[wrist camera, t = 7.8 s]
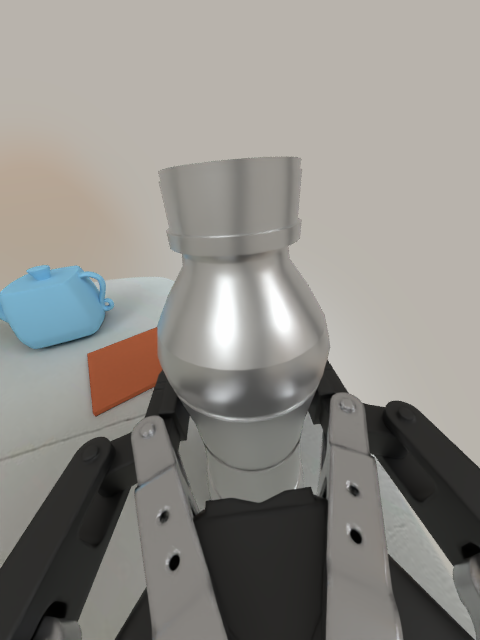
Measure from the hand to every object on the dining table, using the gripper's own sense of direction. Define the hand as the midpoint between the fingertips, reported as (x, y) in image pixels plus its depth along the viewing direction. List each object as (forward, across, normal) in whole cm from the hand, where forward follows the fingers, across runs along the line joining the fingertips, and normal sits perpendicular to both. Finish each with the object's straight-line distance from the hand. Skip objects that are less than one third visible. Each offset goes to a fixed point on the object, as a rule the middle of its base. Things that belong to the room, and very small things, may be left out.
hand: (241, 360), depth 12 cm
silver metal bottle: (-2, 0, +11) cm, 11 cm away
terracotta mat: (+14, +13, +11) cm, 22 cm away
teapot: (+24, +30, +11) cm, 40 cm away
